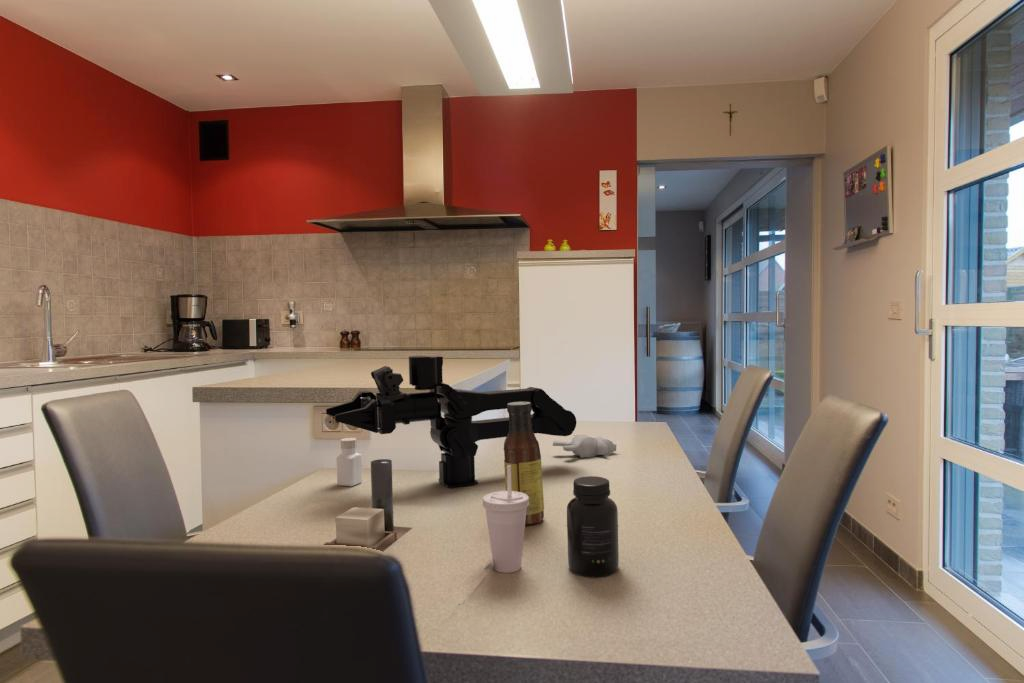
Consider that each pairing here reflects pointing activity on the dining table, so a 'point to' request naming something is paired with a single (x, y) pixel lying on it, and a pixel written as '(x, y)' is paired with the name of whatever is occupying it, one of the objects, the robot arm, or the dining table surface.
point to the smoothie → (506, 526)
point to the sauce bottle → (524, 460)
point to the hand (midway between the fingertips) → (330, 414)
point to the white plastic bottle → (349, 464)
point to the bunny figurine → (587, 446)
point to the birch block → (360, 526)
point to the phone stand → (382, 504)
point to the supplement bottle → (592, 528)
